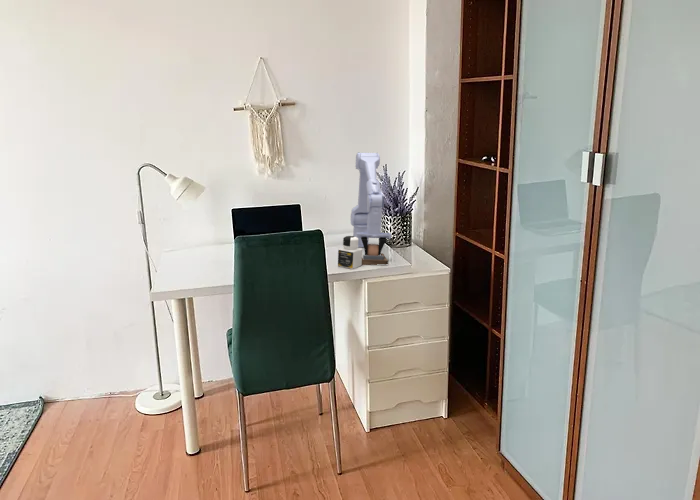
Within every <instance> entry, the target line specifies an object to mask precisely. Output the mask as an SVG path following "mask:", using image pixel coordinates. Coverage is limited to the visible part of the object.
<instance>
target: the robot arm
mask: <svg viewBox="0 0 700 500" xmlns="http://www.w3.org/2000/svg"><path fill="white" fill-rule="evenodd" d="M380 161H381V155H380V153H379V152H357V153H356V155H355V170H358V171H359V172H358V173H359V177H358V178H359V179H358V180H359V182H358V199H357V200H358V201H357V205H356V206H354V207H353V208H351V213H350V225H351V226H352V227H353V233H352V234H353V235H352V236H355V237H357V238H358V248H363V250H364V255H367V244H370V242H369V239H378V245H379V255H378V256H381V253H382V251H383V248H384V246H385V244H386V243H387V240H389V239H392V233H389V232H381V231H382V230H381V229H382V216H383V215H382V213H383V208H384V206H385V195H384V193H383V192H382V189H381V183H380V181H379V180H378V179H377V169H378V167H379V166H380V163H381V162H380Z"/></svg>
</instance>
